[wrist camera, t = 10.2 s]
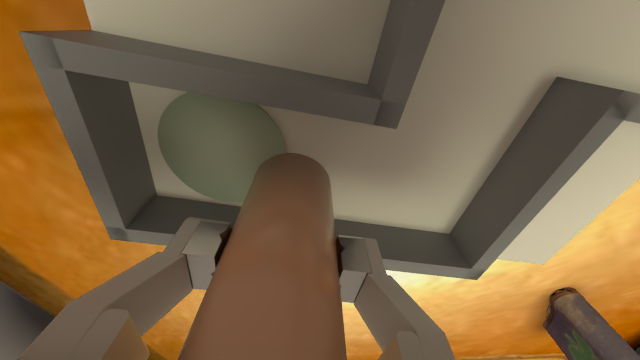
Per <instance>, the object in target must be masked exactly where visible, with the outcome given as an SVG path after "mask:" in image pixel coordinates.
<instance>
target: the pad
mask: <svg viewBox="0 0 640 360" xmlns="http://www.w3.org/2000/svg"><path fill="white" fill-rule="evenodd" d="M158 142H159V147H160V150H161V153H162V155H163V158H164V160H165V161H166V163H167V165H168V166H169V168H170V169H171V170H172V172H173V173H174V174H175V175H176V176H177V177H178V178H179V179H180V180H181V181H182V182H183V183H184V184H186V185H187V186H188V187H190V188H191V189H193V190H195V191H196V192H198V193H200V194H202V195H204V196H207V197H209V198H212V199H215V200H219V201H224V202H244V200H245V198H246V195H247V193H248V191H249V188H250V186H251V183H252V181H253V179H254V176H255V174H256V172H257V170H258V168H259V167H260V165H261V164H262V163H263V162H265V161H266V160H267V159H269V158H271V157H273V156H275V155H279V154H284V153H286V146H285V142H284V139H283V136H282V134H281V132H280V130H279V128H278V126H277V124H276V123H275V122H274V120H273V119H272V118H271V117H270V115H269V114H268V113H267V112H266V111H265V110H264V109H262V108H261V107H260V106H259V105H258V104H252V103H247V102H241V101H236V100H230V99H224V98H219V97H213V96H207V95H202V94H196V93H191V92H187V93H185V94H183V95H181V96H179V97H177V98H176V99H175V100H173V101H172V102H171V103H170V104H169V105H168V106H167V107H166V109H165V110H164V112H163V114H162V116H161V118H160V121H159V125H158Z"/></svg>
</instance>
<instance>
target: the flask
mask: <svg viewBox="0 0 640 360" xmlns="http://www.w3.org/2000/svg"><path fill="white" fill-rule="evenodd" d="M566 290H570V291H573V292H575V293H573V292H570V291H566ZM549 301H551V303H550V305H549V307H548V309H547V313H548V314H549V316H547V320H546V321H545V325H544V326H543V327H544V328H545V329H546V330H547V331H548V333H549V334H550V336H551V337H552V338H553V339H554V341H555V342H556V343H557V345H558V346H559V347H560V349H561V350H562V352H563V353H564V354H565V355H566V357H567V358H568V360H640V356H639V355H638V354H637V353H636V352H635V351H634V350H633V349H632V348H631V347H630V346H629V345H628V343H627V342H626V341H625V340H624V339H623V338H622V337H621V336H620V335H619V334H618V333H617V332H616V331H615V330H614V329H613V328H612V327H611V326H610V325H609V324H608V323H607V321H606V320H605V319H604V318H603V317H602V316H601V315H600V314H599V313H598V312H597V311H596V310H595V309H594V308H593V307H592V306H591V305H590V304H589V303H588V302H587V301H586V300H585V298H584V297H583V296H582V295H581V294H580V293H579V292H577V291H576V290H575V289H573V288H566V289H565V290H563V291H556V292H555V295H553V296H551V298H550V299H549Z"/></svg>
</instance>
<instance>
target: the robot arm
mask: <svg viewBox="0 0 640 360" xmlns="http://www.w3.org/2000/svg"><path fill="white" fill-rule="evenodd" d="M232 229H233V228H232V223H231V222H224V221H217V220H210V219H201V218H194V217H188V218H187V219H186V220H185V221H184V222H183V224H182V225H181V227H180V228H179V230H178V231H177V233H176V234H175V235H174V237H173V238H172V240H171V241H170V243H169V244H168V246H167V247H166V248H165V250H164V251H163V252H157V253H156V254H154V255H152V256H150V257H149V258H147V259H145V260H143V261H142V262H140V263H138V264H136V265H135V266H133V267H131V268H129V269H128V270H126V271H124V272H122V273H121V274H119V275H117V276H115V277H114V278H112V279H110V280H108V281H107V282H105V283H103V284H101V285H100V286H98V287H96V288H94V289H93V290H91V291H89V292H87V293H86V294H84V295H82V296H80V297H79V298H77V299H75V300H73V301H72V302H70V303H68V304H67V305H66V306H65V307H64V309H63V310H62V311H61V312H60V313H59V314H58V315H57V316H56V317H55V319H54V320H53V321H52V322H51V323H50V324H49V325H48V326H47V327H46V329H45V330H44V331H43V332H42V333H41V334H40V335H39V336H38V337H37V338H36V340H35V341H34V342H33V343H32V344H31V345H30V346H29V347H28V348H27V350H25V352H24V353H23V354H22V355H21V356H20V357H19V358H18V359H17V360H147V359H148V357H149V355H150V354H149V351H148V349H147V347H146V345H145V343H144V341H143V339H142V337H141V336H142V335H143V334H145V333H146V332H147V331H148V330H149V329H150V328H151V327H152V326H153V325H155V324H156V323H157V322H158V321H159V320H160V319H161V318H162V317H163V316H165V315H166V314H167V313H168V312H169V311H170V310H171V309H172V308H173V307H175V306H176V305H177V304H178V303H179V302H180V301H181V300H182V299H183V298H184V297H186V296H187V295H188V294H189V293H190V292H191V291H192V289H204V290H207V288H208V286H209V283H210V281H211V279H212V276H213V274H214V272H215V269H216V267H217V264H218V262H219V260H220V257H221V255H222V252H223V250H224V248H225V245H226V243H227V241H228V238H229V236H230V233H231V231H232ZM336 246H337V257H338V268H339V279H340V290H341V301H342V302H350V303H354V305H355V307H356V309H357V310H358V312H359V313H360V315H361V317H362V318H363V320H364V322H365V323H366V325H367V326H368V328H369V330H370V331H371V333H372V335H373V336H374V338H375V339H376V341H377V343H378V344H379V346H380V348H381V349H382V351H383V353H382V354H381V356H380V357H379V358H378V360H456V359H455V357H454V355H453V352H452V350H451V347H450V345H449V343H448V340H447V338H446V335H445V333H444V332H443V331H442V330H441V329H440V328H439V327H438V326H437V325H436V323H435V322H434V321H433V320H432V319H431V318H430V317H429V316H428V315H427V314H426V313H425V312H424V311H423V310H422V309H421V308H420V306H419V305H418V304H417V303H416V302H415V301H414V300H413V299H412V298H411V297H410V296H409V295H408V294H407V293H406V292H405V291H404V289H403V288H402V287H401V286H400V285H399V284H398V283H397V282H396V281H395V280H394V279H393V278H392V277H391V276H388V275H387V274H386V271H385V267H384V264H383V261H382V257H381V254H380V250H379V247H378V243H377V241H376V239H371V238H362V237H353V236H344V235H338V236H337V237H336Z"/></svg>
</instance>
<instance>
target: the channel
mask: <svg viewBox="0 0 640 360" xmlns="http://www.w3.org/2000/svg"><path fill="white" fill-rule="evenodd" d="M83 1H84V5H85V8H86V11H87V15H88V18H89V21H90V25H91V28H92V30H75V31H18V32H19V34H20V36H21V38H22V41H23V43H24V45H25V47H26V50H27V52H28V54H29V56H30V59H31V61H32V63H33V65H34V68H35V70H36V72H37V74H38V77H39V79H40V81H41V83H42V86H43V88H44V90H45V92H46V95H47V97H48V99H49V101H50V104H51V106H52V108H53V110H54V113H55V115H56V117H57V119H58V122H59V124H60V126H61V128H62V131H63V133H64V135H65V137H66V140H67V142H68V144H69V146H70V149H71V151H72V153H73V155H74V158H75V160H76V162H77V164H78V167H79V169H80V171H81V173H82V175H83V178H84V180H85V182H86V184H87V187H88V189H89V191H90V193H91V196H92V198H93V200H94V202H95V205H96V207H97V209H98V211H99V214H100V216H101V218H102V220H103V223H104V225H105V227H106V229H107V232H108V234H109V236H110V238H111V239H113V240H122V241H131V242H140V243H149V244H158V245H167V246H168V244H169V243H170V241H171V240H172V238H173V237H174V235H175V234H176V233H177V231H178V230H179V228H180V227H181V225H182V224H183V222H184V221H185V220H186V219H187V218H188V217H194V218H201V219H210V220H217V221H224V222H231V223H232V228H233V226H234V224H235V222H236V219H237V217H238V214H239V212H240V210H241V207H242V205H243V202H224V201H219V200H215V199H212V198H209V197H207V196H204V195H202V194H200V193H198V192H196V191H195V190H193V189H191V188H190V187H188V186H187V185H186V184H184V183H183V182H182V181H181V180H180V179H179V178H178V177H177V176H176V175H175V174H174V173H173V172H172V170H171V169H170V168H169V166H168V165H167V163H166V161H165V160H164V158H163V155H162V153H161V150H160V147H159V142H158V125H159V121H160V118H161V116H162V114H163V112H164V110H165V109H166V107H167V106H168V105H169V104H170V103H171V102H172V101H173V100H175V99H176V98H177V97H179V96H181V95H183V94H185V93H187V92H191V93H196V94H202V95H207V96H213V97H219V98H224V99H230V100H236V101H241V102H247V103H252V104H258V105H259V106H260V107H261V108H262V109H264V110H265V111H266V112H267V113H268V114H269V115H270V117H271V118H272V119H273V120H274V122H275V123H276V124H277V126H278V128H279V130H280V132H281V134H282V136H283V139H284V142H285V146H286V153H298V154H302V155H305V156H308V157H310V158H312V159H314V160H316V161H317V162H318V163H320V164H321V165H322V166H323V167H324V168H325V170H326V171H327V173H328V175H329V178H330V181H331V190H332V201H333V212H334V223H335V235H336V237H337V236H338V235H344V236H353V237H362V238H371V239H376V241H377V243H378V247H379V250H380V254H381V257H382V261H383V264H384V267H385V270H392V271H401V272H410V273H419V274H428V275H437V276H446V277H455V278H464V279H473V280H477V279H478V278H479V277H480V276H481V275H482V274H483V273H484V272H485V271H486V270H487V269H488V267H489V266H490V265H491V264H492V263H493V262H494V261H495V260H496V259H501V260H510V261H518V262H526V263H534V264H542V265H543V264H544V263H546V262H547V261H548V260H549V259H550V258H551V257H552V256H553V255H555V254H556V253H557V252H558V251H559V250H560V249H561V248H562V247H563V246H565V245H566V244H567V243H568V242H569V241H570V240H571V239H572V238H573V237H575V236H576V235H577V234H578V233H579V232H580V231H581V230H582V229H583V228H585V227H586V226H587V225H588V224H589V223H590V222H591V221H592V220H593V219H595V218H596V217H597V216H598V215H599V214H600V213H601V212H602V211H603V210H605V209H606V208H607V207H608V206H609V205H610V204H611V203H612V202H613V201H615V200H616V199H617V198H618V197H619V196H620V195H621V194H622V193H623V192H625V191H626V190H627V189H628V188H629V187H630V186H631V185H632V184H634V183H635V182H636V181H637V180H638V179H639V178H640V0H83Z"/></svg>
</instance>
